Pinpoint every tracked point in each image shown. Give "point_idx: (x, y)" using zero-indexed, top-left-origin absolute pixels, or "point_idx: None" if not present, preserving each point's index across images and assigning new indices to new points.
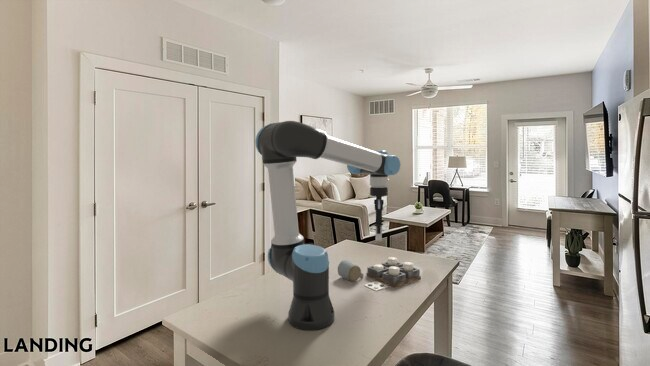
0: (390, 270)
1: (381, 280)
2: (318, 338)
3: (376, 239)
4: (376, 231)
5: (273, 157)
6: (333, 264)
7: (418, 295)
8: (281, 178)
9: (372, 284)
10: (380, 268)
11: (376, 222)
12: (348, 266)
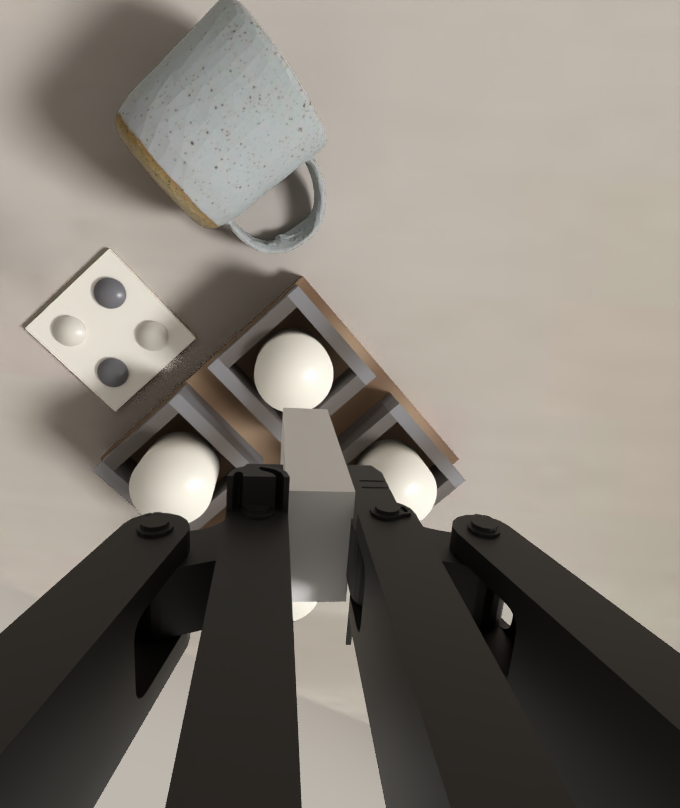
0: (142, 458)
1: (192, 375)
2: None
3: (282, 424)
4: (283, 464)
5: None
6: (557, 3)
7: (14, 561)
8: None
9: (127, 310)
10: (256, 386)
11: (89, 564)
12: (149, 96)
